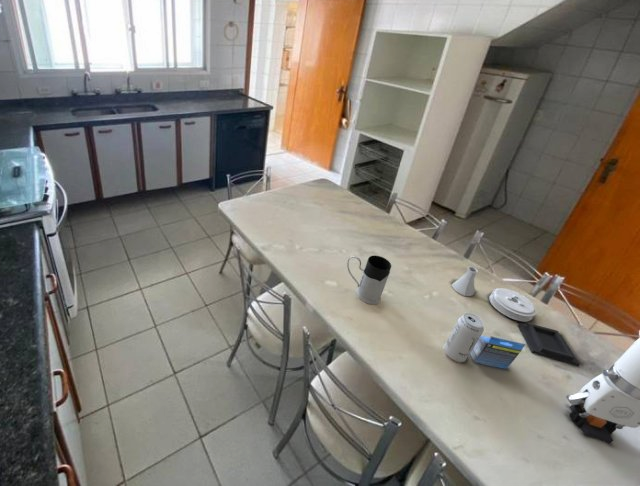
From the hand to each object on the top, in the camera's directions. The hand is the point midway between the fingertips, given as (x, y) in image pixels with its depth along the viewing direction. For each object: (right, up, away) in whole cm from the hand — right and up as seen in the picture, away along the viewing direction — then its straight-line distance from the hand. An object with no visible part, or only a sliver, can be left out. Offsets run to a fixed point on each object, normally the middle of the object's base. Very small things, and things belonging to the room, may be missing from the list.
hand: (587, 425), depth 82 cm
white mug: (-44, +22, +36) cm, 61 cm away
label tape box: (-15, +8, +15) cm, 22 cm away
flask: (-3, +21, +41) cm, 47 cm away
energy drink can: (-23, +9, +16) cm, 30 cm away
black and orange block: (0, 0, 0) cm, 0 cm away
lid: (+9, +16, +35) cm, 39 cm away
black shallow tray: (+10, +10, +22) cm, 26 cm away
